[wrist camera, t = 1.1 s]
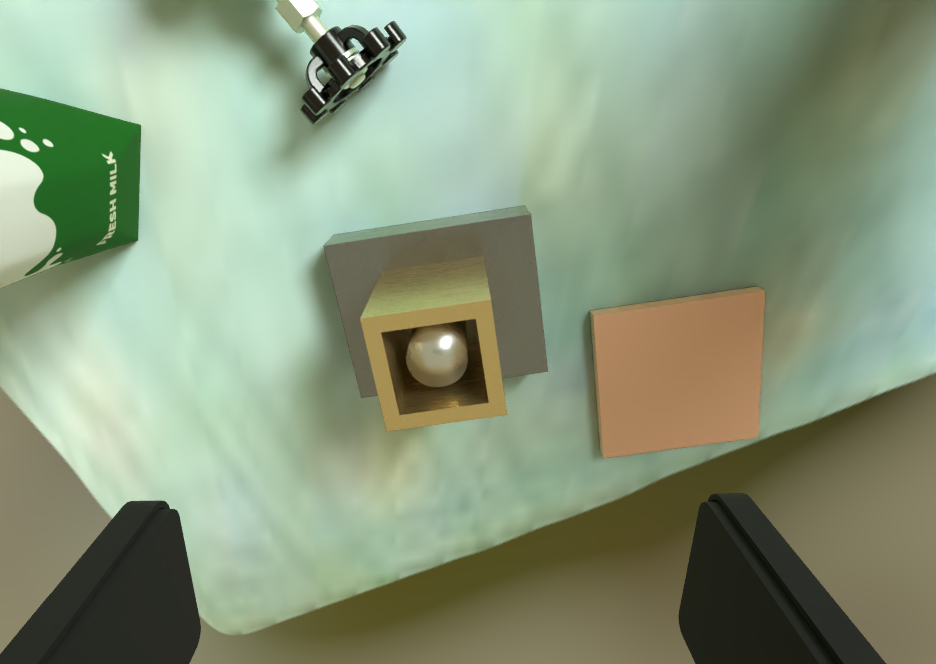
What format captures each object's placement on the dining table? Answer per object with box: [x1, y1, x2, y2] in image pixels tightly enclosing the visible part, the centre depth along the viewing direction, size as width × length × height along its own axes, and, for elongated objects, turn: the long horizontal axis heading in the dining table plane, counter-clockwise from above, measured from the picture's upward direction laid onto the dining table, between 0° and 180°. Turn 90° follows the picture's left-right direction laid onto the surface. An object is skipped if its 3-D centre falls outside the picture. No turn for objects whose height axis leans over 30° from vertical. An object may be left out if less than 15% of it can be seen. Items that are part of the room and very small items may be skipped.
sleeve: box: [360, 256, 507, 431], centre depth 30 cm, size 6×6×8 cm
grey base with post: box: [324, 206, 548, 398], centre depth 32 cm, size 12×10×10 cm
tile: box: [590, 286, 765, 458], centre depth 39 cm, size 11×11×1 cm
